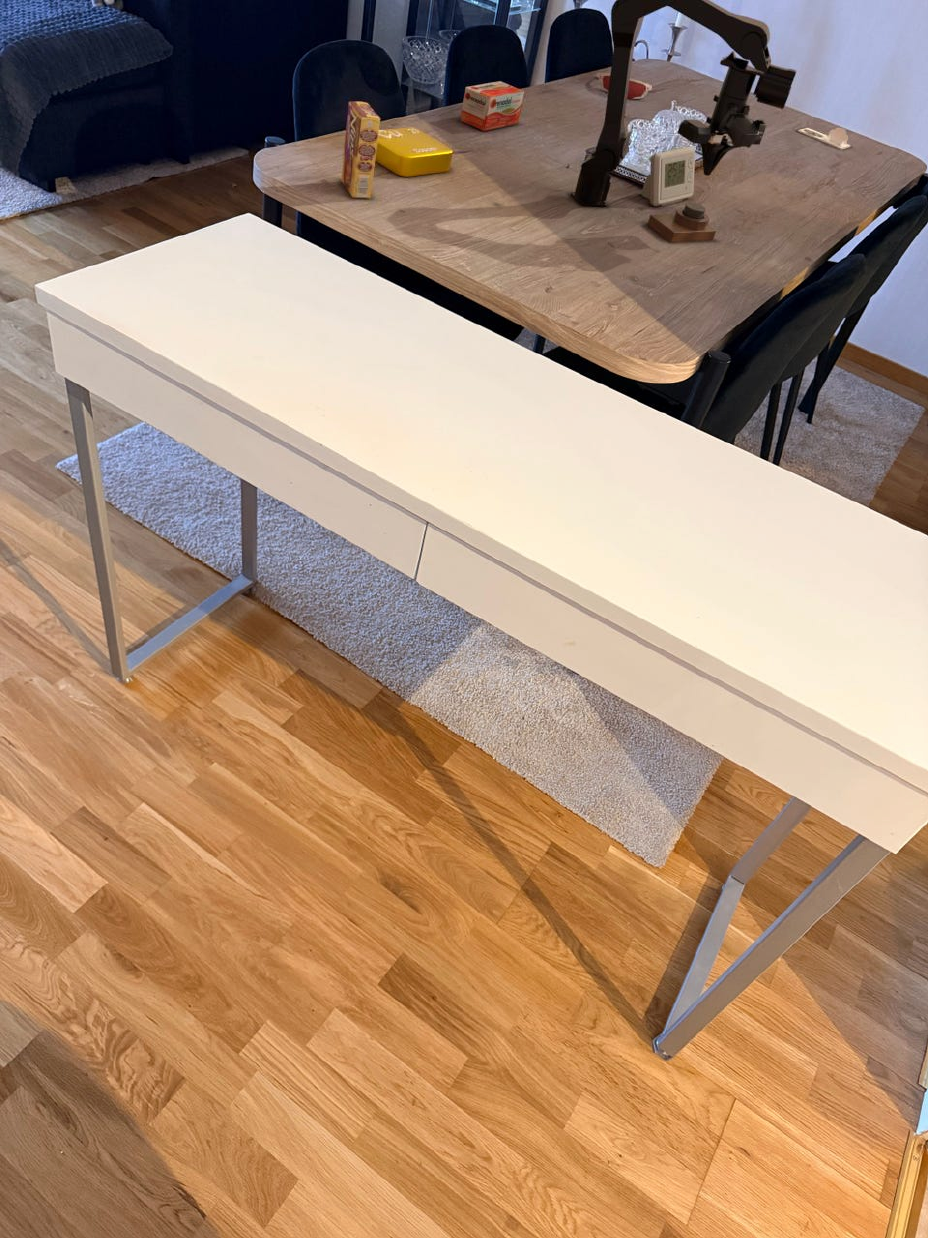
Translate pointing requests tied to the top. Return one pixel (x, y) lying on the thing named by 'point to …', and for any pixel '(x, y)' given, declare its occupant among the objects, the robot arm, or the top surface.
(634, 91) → the sunglasses
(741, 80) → the robot arm
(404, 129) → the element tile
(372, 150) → the candy box
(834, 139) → the white stand
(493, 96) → the medicine box
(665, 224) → the button box
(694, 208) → the button
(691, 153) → the digital clock
